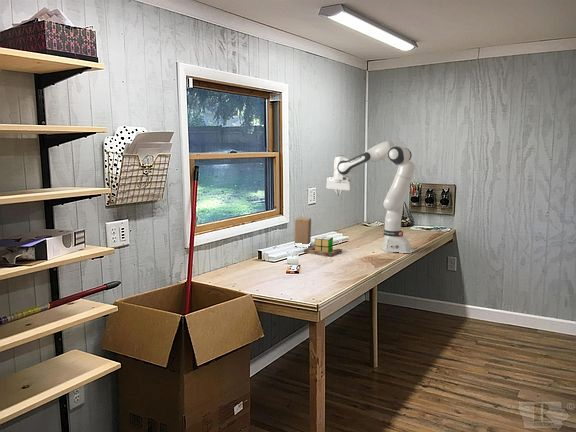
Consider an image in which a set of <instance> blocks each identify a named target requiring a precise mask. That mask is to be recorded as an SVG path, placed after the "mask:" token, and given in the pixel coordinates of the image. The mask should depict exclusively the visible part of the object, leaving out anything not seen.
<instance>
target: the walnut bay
mask: <svg viewBox="0 0 576 432" xmlns="http://www.w3.org/2000/svg"><path fill="white" fill-rule="evenodd" d="M342 250H343V249H341V248H336V249H334V250H333V251H331V252H323V251H316V250H315V245H313V246H309V247H308V248H304V249H303V254H309V255H310V254H311V255H314V256H315V255H317V256H322V257H331V258H332V257H333V256H335V255H338V254H341V253H342V252H343V251H342Z"/></svg>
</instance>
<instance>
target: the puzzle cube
mask: <svg viewBox="0 0 576 432" xmlns="http://www.w3.org/2000/svg"><path fill="white" fill-rule="evenodd" d="M314 246H315V250H316V251H323V252H331V251H333V249H334V247H333V246H334V238H333V236H326V235H325V236H322V235H319V236H317V237H316V238H314Z"/></svg>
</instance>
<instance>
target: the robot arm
mask: <svg viewBox="0 0 576 432" xmlns="http://www.w3.org/2000/svg"><path fill="white" fill-rule="evenodd" d="M412 155H413V154H412V152H411V150H410V149H409V148H407V147H403V146H397V145H395V143H394V142H393V141H391V140H385V141H382V142H379V143H377V144H376V145H374V146H372V147H371V148H368V149H367V150H366V151H364V152H362V153H361V154H359V155H357V156H355V157H352V158H351V159H350V158H348V157H347V156H346V155H344V154H342V155H337V156H335V157H334V159H333V176H328V177H327V178H326V184H325V186H326V187H325V188H326V189H327V190H334V192H335V193H336V196H337V197H341V196H342V193H343V192H344V191H348V192H349V191H352V190H353V182H352V177H351V176H349V175H350V174H355V173H357V171H358V169H359V166H360V165H363V164H367V163H376V162H379V161H382V160H384V159H385V160H386V158H388V160H389V161H391V162H392V163H393V164H395V165H396V166H397V170H396V174H395V176H394V179H393V181H392V184H391V186H390V188H389V190H388V191H387V194H386V196H385V198H384V200H383V208H384V209H385V210H386V213H385V218H384V229H383V241H382V244H381V248H380V250H382V251H384V252H386V253H393V252H399V253H398V254H403V253H410V254H412V252H413V253H414V252H415V249H414V248H412V243H411V241H409V239H408V238H406V237H405V236H404V231H402V230H401V229H402V218H403V217H402V216H403V212H404V205H405V199H404V197H405V195H406V193H407V192H408V189H409V188H410V184H411V182H412V179H413V176H414V173H415V169H416V168H415V167H416V165H415V163H414V162H413V161H411V159H412V157H413V156H412Z"/></svg>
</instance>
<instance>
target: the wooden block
mask: <svg viewBox="0 0 576 432" xmlns="http://www.w3.org/2000/svg"><path fill="white" fill-rule="evenodd" d="M311 234H312V218H311V217H300V216H299V217H296V218H295V219H294V244H295V243H302V244H309V243H310V242H311V238H312V235H311ZM311 243H312V242H311Z"/></svg>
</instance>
